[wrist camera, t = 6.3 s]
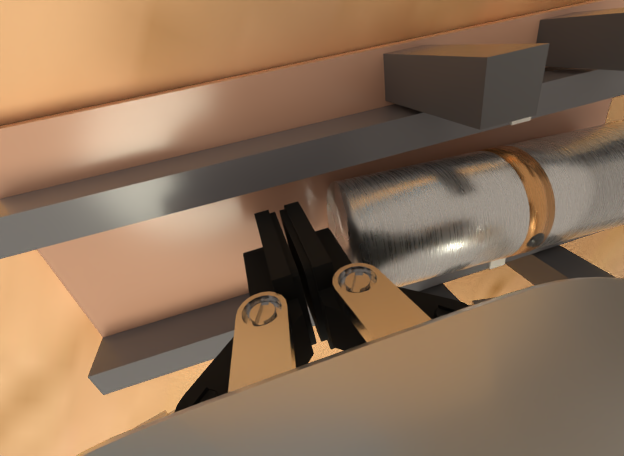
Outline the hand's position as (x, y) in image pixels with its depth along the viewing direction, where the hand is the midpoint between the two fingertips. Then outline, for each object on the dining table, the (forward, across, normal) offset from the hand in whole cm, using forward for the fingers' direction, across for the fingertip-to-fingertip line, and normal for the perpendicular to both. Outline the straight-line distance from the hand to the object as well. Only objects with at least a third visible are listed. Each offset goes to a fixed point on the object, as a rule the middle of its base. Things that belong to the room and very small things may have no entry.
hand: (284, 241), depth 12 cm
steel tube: (+2, -9, 0) cm, 9 cm away
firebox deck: (+3, -4, 0) cm, 5 cm away
